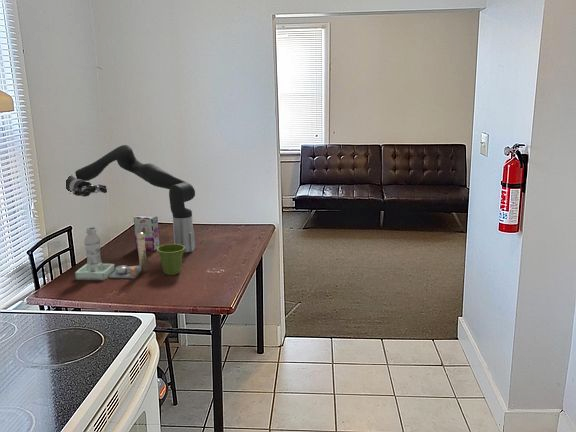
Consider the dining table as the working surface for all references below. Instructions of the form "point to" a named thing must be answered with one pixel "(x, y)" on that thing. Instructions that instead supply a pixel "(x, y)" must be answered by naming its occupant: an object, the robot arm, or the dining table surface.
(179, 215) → the robot arm
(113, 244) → the dining table surface
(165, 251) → the plant pot
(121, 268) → the beige silver l-shaped piece
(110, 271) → the tray
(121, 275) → the base
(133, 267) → the stop block
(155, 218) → the candy bar box
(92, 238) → the plastic bottle
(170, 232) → the dining table surface
